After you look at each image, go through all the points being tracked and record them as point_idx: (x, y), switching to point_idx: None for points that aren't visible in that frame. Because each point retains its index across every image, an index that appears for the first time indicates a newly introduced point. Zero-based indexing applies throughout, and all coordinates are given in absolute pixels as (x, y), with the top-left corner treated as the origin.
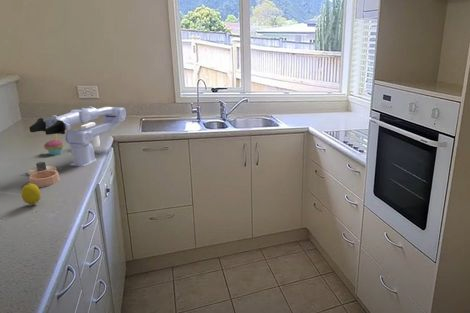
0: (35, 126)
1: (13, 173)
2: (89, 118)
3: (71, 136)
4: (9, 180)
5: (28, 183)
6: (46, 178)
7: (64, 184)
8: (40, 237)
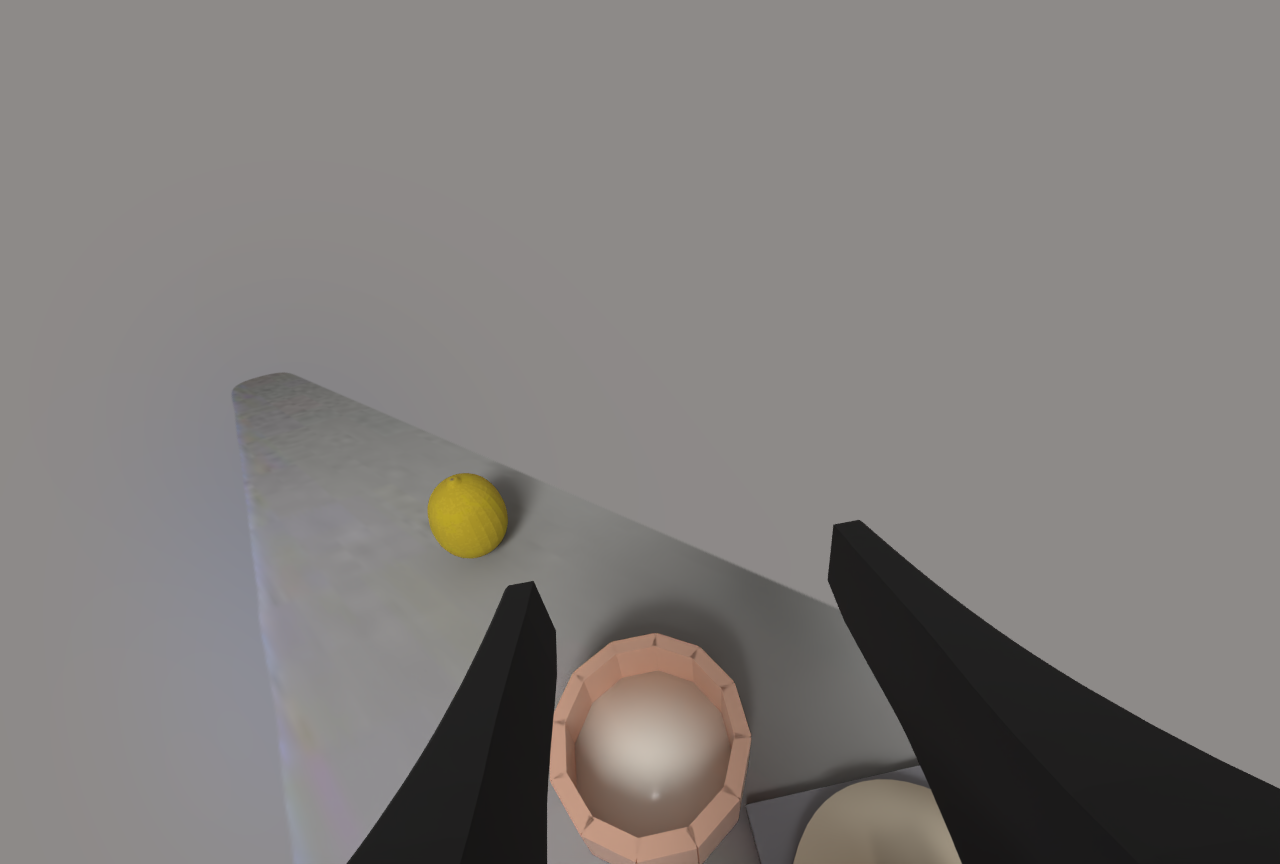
0: (889, 620)
1: None
2: None
3: None
4: None
5: (452, 478)
6: (567, 687)
7: None
8: (323, 461)
